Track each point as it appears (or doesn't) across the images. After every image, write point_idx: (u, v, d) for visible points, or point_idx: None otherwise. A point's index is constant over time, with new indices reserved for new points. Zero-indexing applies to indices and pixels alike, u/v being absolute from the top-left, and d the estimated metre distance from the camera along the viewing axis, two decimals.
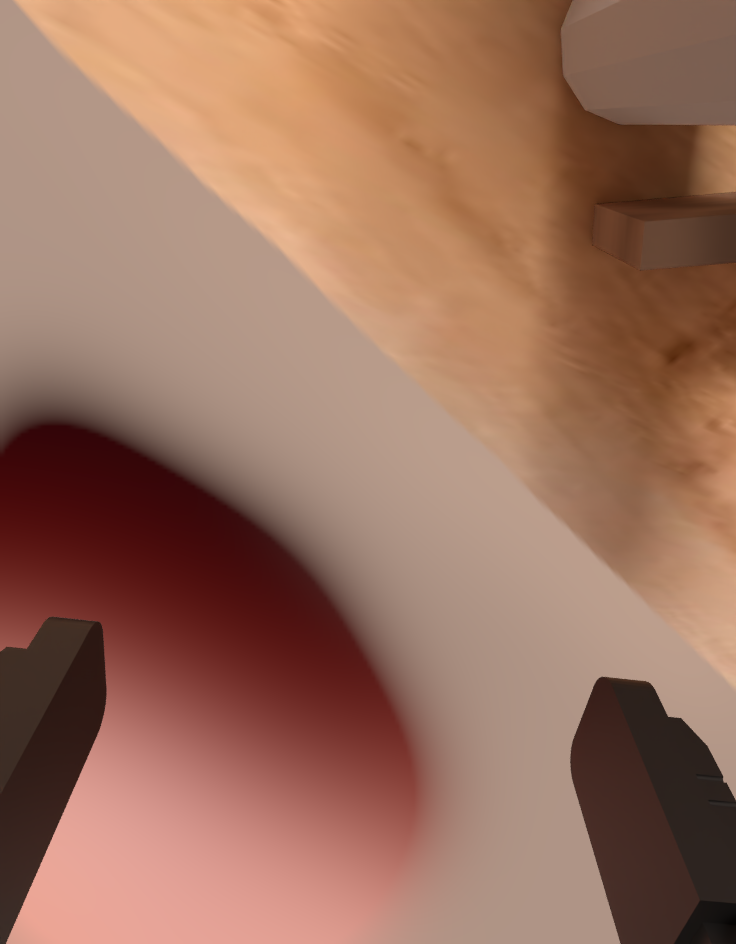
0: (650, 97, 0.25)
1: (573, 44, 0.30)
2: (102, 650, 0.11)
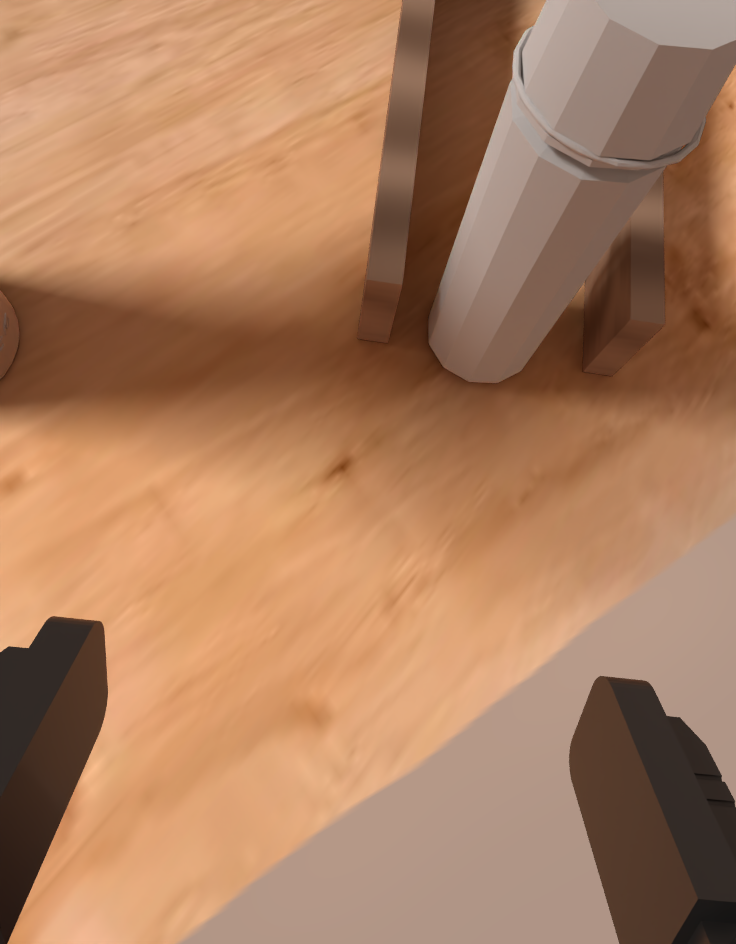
0: (566, 301, 0.36)
1: (488, 369, 0.42)
2: (103, 650, 0.11)
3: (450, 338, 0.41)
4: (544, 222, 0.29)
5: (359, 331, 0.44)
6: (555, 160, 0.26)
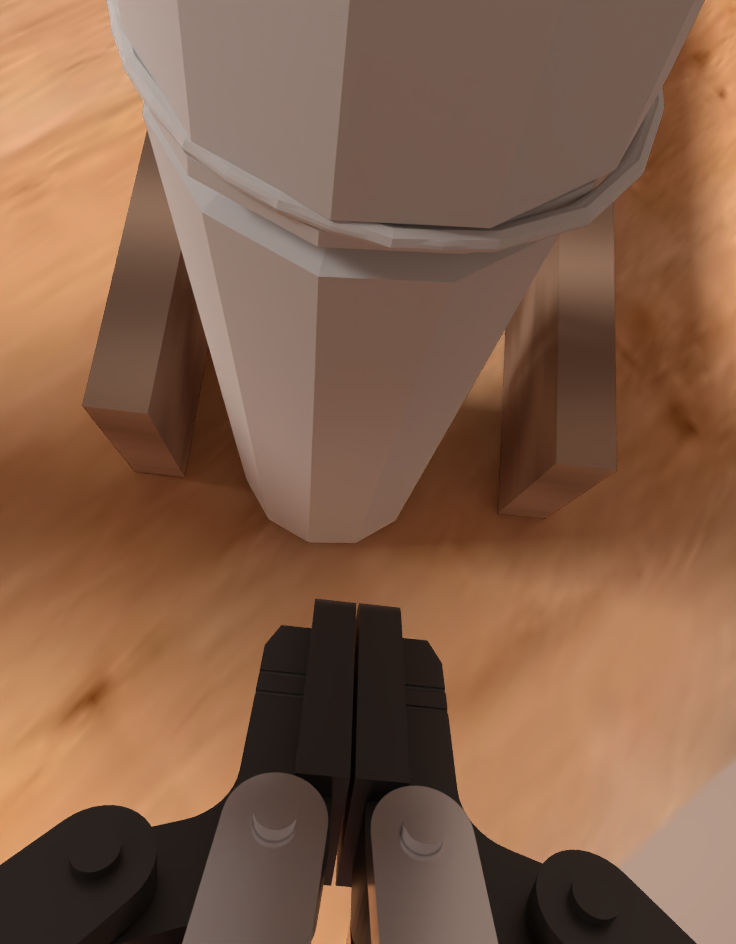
0: (425, 455, 0.19)
1: (330, 532, 0.25)
2: None
3: (258, 488, 0.24)
4: (291, 357, 0.12)
5: (130, 464, 0.27)
6: (247, 222, 0.09)
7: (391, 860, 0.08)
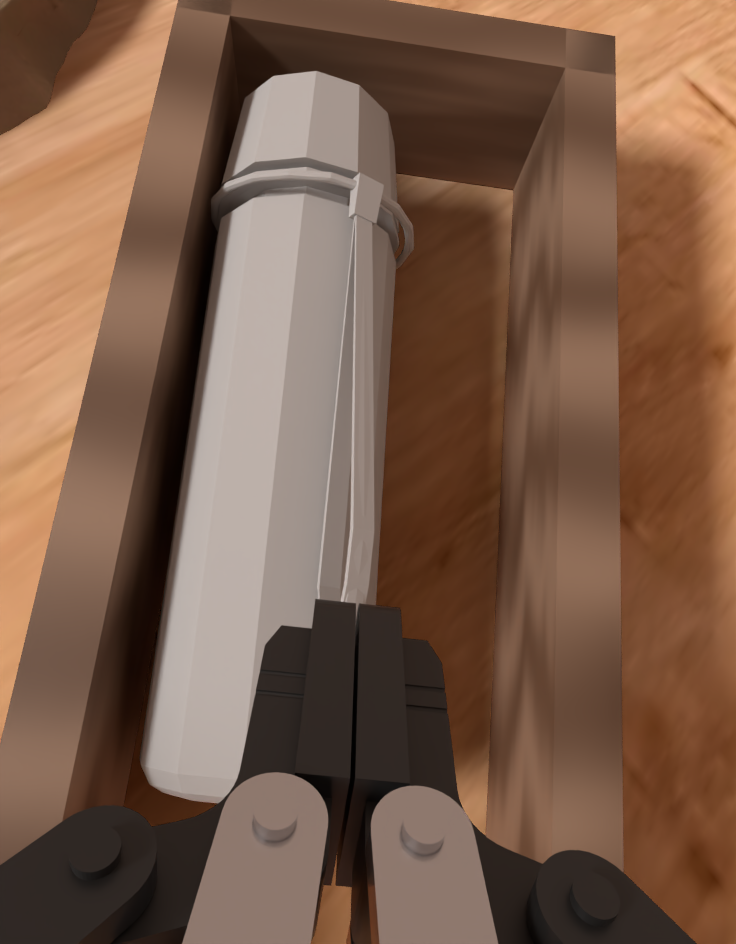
0: (182, 475, 0.23)
1: None
2: None
3: None
4: None
5: None
6: None
7: (391, 860, 0.08)
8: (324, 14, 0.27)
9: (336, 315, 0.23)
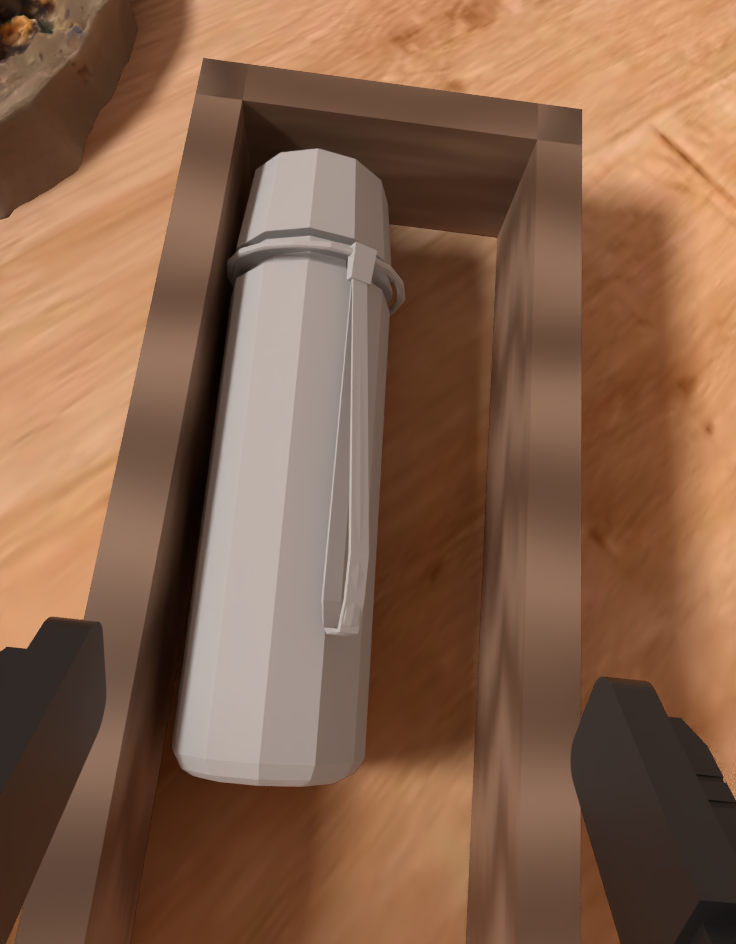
0: (205, 505, 0.27)
1: None
2: (102, 650, 0.11)
3: None
4: None
5: None
6: None
7: None
8: (324, 96, 0.30)
9: (336, 365, 0.27)
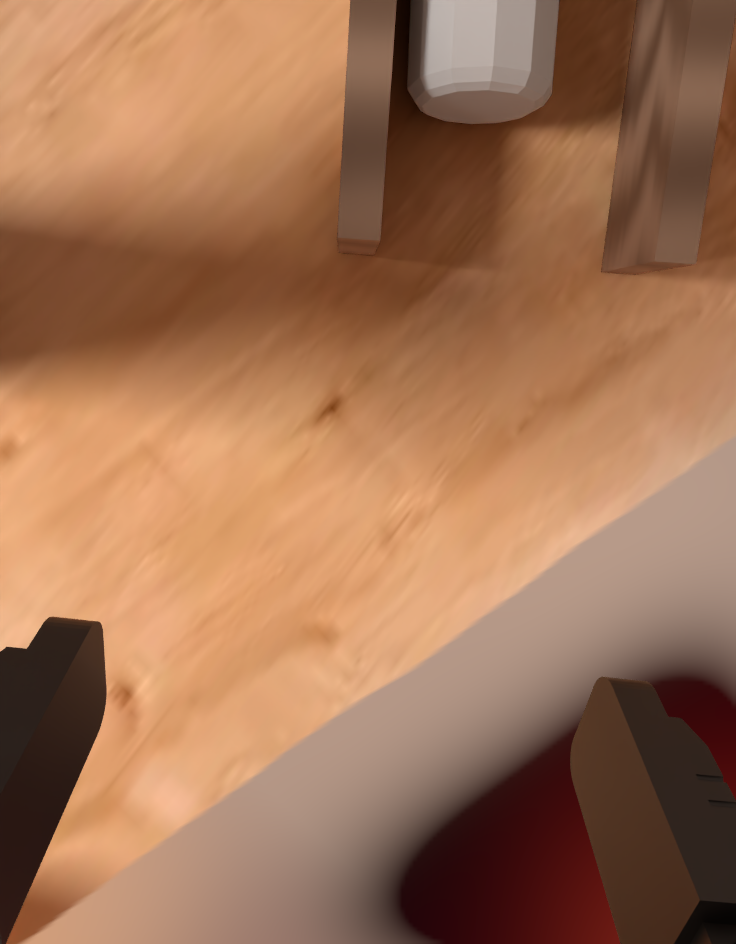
0: None
1: None
2: (102, 650, 0.11)
3: None
4: None
5: (339, 250, 0.38)
6: None
7: None
8: None
9: None
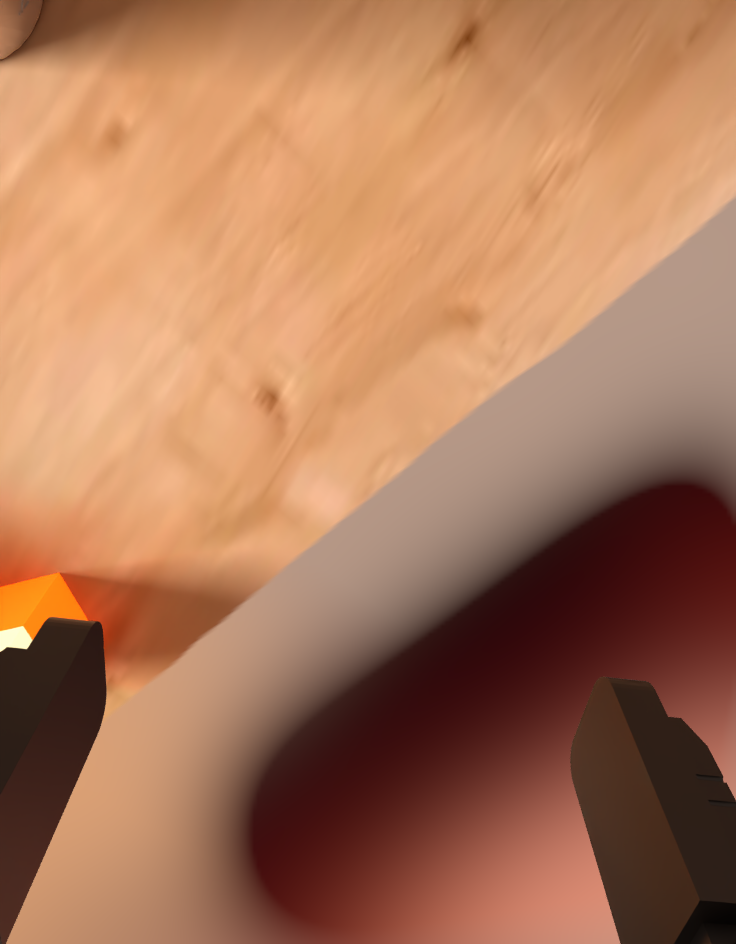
0: None
1: None
2: (102, 650, 0.11)
3: None
4: None
5: None
6: None
7: None
8: None
9: None
